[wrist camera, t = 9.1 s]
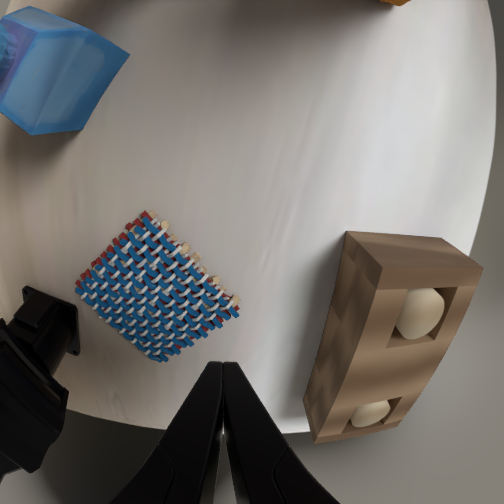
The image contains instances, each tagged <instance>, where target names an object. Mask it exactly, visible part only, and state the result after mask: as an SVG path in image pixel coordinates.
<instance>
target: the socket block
mask: <svg viewBox="0 0 504 504" xmlns="http://www.w3.org/2000/svg"><path fill="white" fill-rule="evenodd" d="M482 271H483V267H482V266H480V265H479V264H478V263H476V262H475V261H474V260H472V259H471V258H469V257H468V256H467V255H465V254H464V253H462V252H461V251H460V250H458V249H457V248H455V247H454V246H452V245H451V244H450V243H448V242H447V241H445V240H444V239H442V238H436V237H424V236H412V235H399V234H385V233H371V232H356V231H346V236H345V241H344V247H343V252H342V256H341V261H340V266H339V271H338V275H337V280H336V284H335V289H334V293H333V297H332V301H331V305H330V309H329V313H328V317H327V321H326V325H325V329H324V332H323V336H322V340H321V343H320V347H319V350H318V354H317V357H316V361H315V364H314V367H313V371H312V374H311V377H310V380H309V384H308V387H307V390H306V393H305V396H304V399H303V403H304V407H305V411H306V415H307V419H308V423H309V427H310V431H311V435H312V439H313V443H314V444H316V443H322V442H329V441H336V440H341V439H346V438H352V437H357V436H362V435H366V434H370V433H375V432H379V431H382V430H386V429H390V428H394V427H397V426H398V424H399V423H400V422H401V421H402V419H403V418H404V416H405V415H406V414H407V412H408V411H409V410H410V408H411V407H412V405H413V404H414V403H415V401H416V400H417V398H418V397H419V395H420V394H421V392H422V391H423V389H424V388H425V386H426V385H427V383H428V382H429V380H430V378H431V377H432V375H433V374H434V372H435V370H436V368H437V367H438V365H439V363H440V362H441V360H442V358H443V356H444V355H445V353H446V351H447V349H448V347H449V345H450V343H451V341H452V340H453V338H454V336H455V334H456V332H457V330H458V328H459V326H460V324H461V322H462V319H463V317H464V315H465V313H466V311H467V308H468V306H469V304H470V301H471V299H472V297H473V294H474V292H475V289H476V287H477V284H478V281H479V279H480V276H481V274H482ZM420 288H433V289H434V290H435V291H436V292H437V293H438V294H439V295H440V296H441V297H442V298H443V300H444V311H443V314H442V316H441V318H440V320H439V322H438V323H437V324H436V326H435V327H434V328H433V329H432V330H431V331H430V332H428V333H427V334H426V335H424V336H422V337H420V338H417V339H406V338H404V337H403V336H402V334H401V333H400V331H399V330H398V329H397V327H396V326H395V324H396V322H397V319H398V317H399V314H400V311H401V309H402V306H403V303H404V301H405V298H406V295H407V292H408V289H420ZM385 400H387V401H388V403H389V405H390V410H389V412H388V414H387V415H386V416H385V417H383V418H382V419H381V420H379V421H378V422H376V423H374V424H371V425H369V426H365V427H355V426H353V425H352V422H351V419H350V417H351V416H352V414H353V412H354V410H355V409H356V407H357V406H359V405H365V404H370V403H375V402H380V401H385Z"/></svg>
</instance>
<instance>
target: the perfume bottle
mask: <svg viewBox="0 0 504 504" xmlns="http://www.w3.org/2000/svg"><path fill="white" fill-rule="evenodd" d="M129 56H130V54H128V53H127V52H125V51H124V50H122V49H121V48H119V47H118V46H116V45H115V44H113V43H111V42H110V41H108V40H107V39H105V38H103V37H102V36H100V35H99V34H97V33H95V32H94V31H92V30H90V29H88V28H85V27H83V26H81V25H79V24H76V23H74V22H71V21H69V20H67V19H64V18H62V17H59V16H56V15H54V14H51V13H48V12H46V11H43V10H40V9H37V8H34V7H31V6H28V7H25V8H22V9H20V10H17V11H15V12H12V13H10V14H8V15H5V16H3V17H2V18H1V20H0V112H1V113H2V114H3V115H5V116H6V117H7V118H9V119H10V120H11V121H13V122H14V123H15V124H17V125H18V126H19V127H21V128H22V129H23V130H25V131H26V132H27V133H29V134H30V135H38V134H46V133H54V132H62V131H72V130H83V128H84V126H85V124H86V122H87V120H88V119H89V117H90V115H91V113H92V112H93V110H94V108H95V107H96V105H97V103H98V102H99V100H100V98H101V97H102V95H103V93H104V92H105V90H106V89H107V87H108V86H109V84H110V83H111V81H112V80H113V78H114V77H115V75H116V74H117V72H118V71H119V69H120V68H121V67H122V65H123V64H124V62H125V61H126V60H127V58H128V57H129Z"/></svg>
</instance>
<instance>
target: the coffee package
mask: <svg viewBox="0 0 504 504" xmlns="http://www.w3.org/2000/svg"><path fill="white" fill-rule="evenodd" d="M380 1H383V2H388V3H391V4H394V5H396V6H402V5H404V4H405V3H406V2H408V1H410V0H380Z"/></svg>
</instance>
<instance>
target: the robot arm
mask: <svg viewBox="0 0 504 504" xmlns="http://www.w3.org/2000/svg"><path fill="white" fill-rule="evenodd" d="M22 293H23V300H24V303H23V305H22V306H21V307H20V308H19V309H18V310H17V311H16V313H15V314H14V318H13V319H12V320H11V321H10V322H9V324H8V325H6V324H5V323H6V322H5V321H4V320H3V318H1V319H0V483H1V481H2V479H3V477H4V476H5V475H6V474H9V473H11V472H14V471H17V470H20V469H24V470H25V471H27V472H28V473H33V472H34V471H36V470H37V469H39V468H40V466H41V463H42V461H43V458H44V456H45V453H46V451H47V450H48V448H49V446H50V445H51V444H52V443H54V442H55V441H56V439H57V438H58V437H59V435H60V433H61V431H62V428H63V425H64V419H65V412H66V406H67V400H68V394H69V391H68V390H67V389H66V388H65V387H64V388H63V387H62V386H61V385H60V384H59V383H58V382H57V381H56V380H55V379H54V378H53V375H54V373H55V371H56V369H57V367H58V366H59V364H60V362H61V360H62V358H63V356H64V355H65V353H66V352H68V353H70V354H73V355H75V356H78V355H79V354H80V343H79V328H78V310H77V307H76V306H75V305H73V304H70V303H68V302H65V301H62V300H60V299H57V298H55V297H52V296H50V295H47V294H45V293H43V292H40V291H38V290H35V289H33V288H31V287H29V286H25V287H24V288H23V289H22ZM71 309H72V310H73V311H72V310H71ZM223 425H224V435H225V441H226V447H227V453H228V459H229V465H230V470H231V476H232V481H233V486H234V491H235V497H236V501H237V504H340V503H339V502H338V501H337V500H336V499H335V498H334V497H333V496H332V495H331V494H330V493H329V492H328V491H326V489H325V488H324V487H323V486H322V485H321V484H320V483H319V482H318V481H317V480H316V479H315V478H314V477H313V476H312V475H311V473H310V472H309V471H308V470H307V469H306V468H305V466H304V465H303V464H302V462H301V461H300V460H299V458H298V457H297V456H296V454H295V453H294V451H293V450H292V448H291V447H289V444H288V443H287V441H286V440H285V438H284V437H283V435H282V433H281V432H280V430H279V429H278V427H277V426H276V424H275V423H274V421H273V420H272V418H271V417H270V415H269V413H268V412H267V410H266V409H265V407H264V405H263V404H262V402H261V401H260V399H259V397H258V396H257V394H256V393H255V391H254V389H253V388H252V386H251V384H250V383H249V381H248V379H247V378H246V376H245V374H244V373H243V371H242V369H241V368H240V366H239V364H238V363H237V362H224V363H222V362H220V361H210V362H208V364H207V365H206V367H205V369H204V370H203V372H202V373H201V375H200V377H199V378H198V380H197V382H196V383H195V385H194V386H193V388H192V390H191V391H190V393H189V394H188V396H187V398H186V399H185V401H184V402H183V404H182V406H181V407H180V409H179V410H178V412H177V414H176V415H175V417H174V418H173V420H172V421H171V423H170V425H169V426H168V428H167V429H166V431H165V433H164V434H163V436H162V437H161V439H160V440H159V442H158V445H156V446H155V448H154V449H153V451H152V453H151V454H150V456H149V457H148V458H147V460H146V461H145V463H144V464H143V465H142V467H141V468H140V469H139V470H138V472H137V473H136V474H135V475H134V477H133V478H132V479H131V480H130V481H129V482H128V483H127V484H126V485H125V487H124V488H123V489H122V490H121V491H120V492H119V493H118V494H117V495H116V496H115V497H114V498H113V500H111V502H110V503H109V504H213V502H214V494H215V486H216V479H217V471H218V463H219V455H220V448H221V440H222V432H223Z"/></svg>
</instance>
